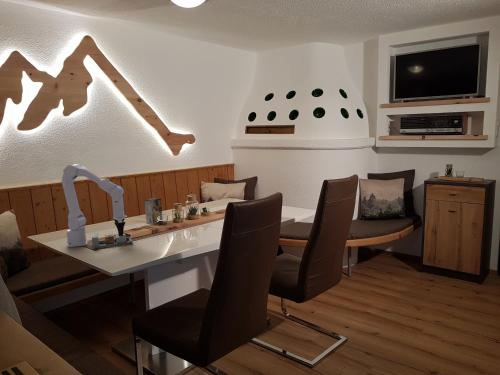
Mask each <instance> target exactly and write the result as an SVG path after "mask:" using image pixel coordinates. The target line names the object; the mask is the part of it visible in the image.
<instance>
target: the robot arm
mask: <svg viewBox="0 0 500 375" xmlns="http://www.w3.org/2000/svg"><path fill="white" fill-rule="evenodd" d="M62 171H63V174H62V177H61V185H62V189H63V191H64V192H63V193H64V196H65V201H66V204H67V209H68V215H67V219H68V221H67V222H68V223H67V226H68V228H69V229H66V241H67V242H66V243H67V247H68V248H74V247H81V246H88V243H89V242H88V240H87V233H86V226H85V225H86V224H87V218H86V217H85V215H84V212H83V211H82V210H81V208H80V204H79V201H78V197H77V193H76V189H75V185H74V182H75V180H76V179H77V178H79V177H85V178H87V179H89V180H90V181H92V182H94V183H96V184H97V186H98V188H99V189H101V190H103V191H104V192H106V193H107V194H109V195H110V197H111V200H112V201H111V202H112V212H113V214H112V215H113V221H114V222H113V223H114V225H115V227H116V229H117V233H118V234H119V235H123V234H124V230H125V225H126V221H125V219H126V218H128V216H127V215H126V214H125V205H124V203H125V202H124V193H125V190H124V188H123V187H122V186H121V185H118V184H116V183H113V182H111V181H110V179H109V178H101V177H100V176H98V175H97V174H96V173H94V172H93V171H91V170H89V168H87V167H86V166H84V165H82V164H81V163H74V164H68V165H66V166H65V168H64V169H63V170H62Z"/></svg>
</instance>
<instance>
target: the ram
mask: <svg viewBox="0 0 500 375" xmlns="http://www.w3.org/2000/svg"><path fill="white" fill-rule="evenodd" d="M126 237H127V236H126V233H124V232H123V235H119V234H117V233H116V234H115V239H116V242H115V243H120V242H127V240H126Z"/></svg>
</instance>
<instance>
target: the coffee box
mask: <svg viewBox="0 0 500 375" xmlns="http://www.w3.org/2000/svg"><path fill="white" fill-rule="evenodd" d="M144 208H145V209H144V210H145V221H146V224H149V225H155V224H157V221H158V220H157V217H158V216H160V220H163V211H162V209H163V207H162V197H161V198H160V197H153V198H148V199H144ZM154 223H155V224H154Z"/></svg>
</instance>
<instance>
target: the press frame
mask: <svg viewBox="0 0 500 375" xmlns="http://www.w3.org/2000/svg"><path fill="white" fill-rule="evenodd" d="M91 242H92V250H95V249H94V248H97V249H105V248H104V247H107V248H112V246H115V247H119V246H120V247H121V246H122V245H123V246H129V245H133V240H132V237H131V236H126V242H120V243H116V238H114V243H112V244H105V239H101V240H100V238H99V233H98V232H94V233H92V234H91ZM100 243H102V244H100Z"/></svg>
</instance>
